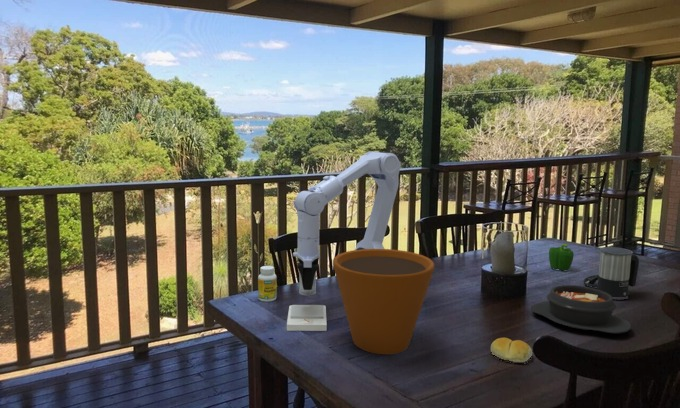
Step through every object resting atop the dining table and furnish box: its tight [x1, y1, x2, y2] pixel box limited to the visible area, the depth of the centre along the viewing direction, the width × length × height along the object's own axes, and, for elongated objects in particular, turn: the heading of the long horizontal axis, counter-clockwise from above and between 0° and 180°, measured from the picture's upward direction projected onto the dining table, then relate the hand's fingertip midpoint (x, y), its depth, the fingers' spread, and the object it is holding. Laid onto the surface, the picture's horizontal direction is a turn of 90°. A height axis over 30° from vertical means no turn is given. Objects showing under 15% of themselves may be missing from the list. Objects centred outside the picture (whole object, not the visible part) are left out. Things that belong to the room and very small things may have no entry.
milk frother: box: [583, 246, 640, 297], centre depth 168 cm, size 14×16×15 cm
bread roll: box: [490, 337, 533, 362], centre depth 121 cm, size 8×9×4 cm
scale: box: [286, 304, 328, 332], centre depth 139 cm, size 10×14×2 cm
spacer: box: [298, 272, 317, 296], centre depth 141 cm, size 4×4×6 cm
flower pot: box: [332, 248, 435, 355], centre depth 126 cm, size 24×24×20 cm
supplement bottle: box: [257, 265, 278, 303], centre depth 155 cm, size 5×5×10 cm
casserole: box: [530, 284, 632, 335], centre depth 141 cm, size 25×19×8 cm
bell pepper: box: [548, 243, 574, 271], centre depth 193 cm, size 8×8×10 cm
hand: (307, 286), depth 141 cm, fingers closed on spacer, 4 cm apart
